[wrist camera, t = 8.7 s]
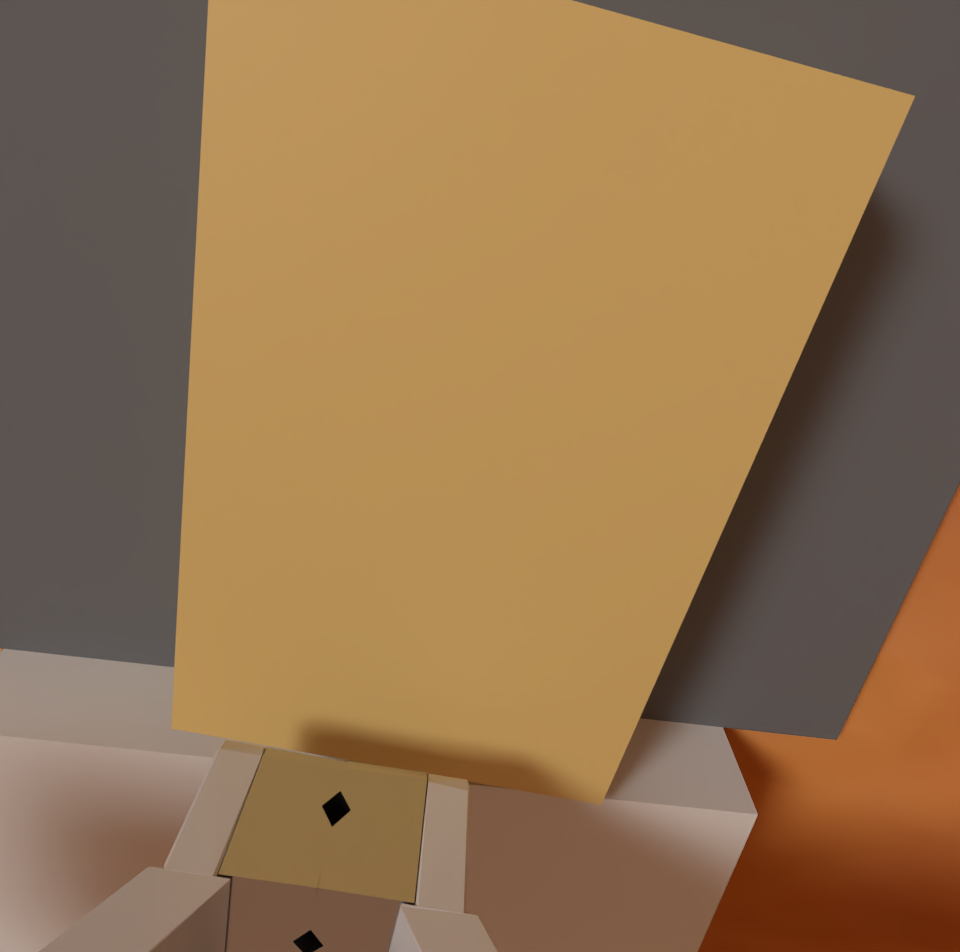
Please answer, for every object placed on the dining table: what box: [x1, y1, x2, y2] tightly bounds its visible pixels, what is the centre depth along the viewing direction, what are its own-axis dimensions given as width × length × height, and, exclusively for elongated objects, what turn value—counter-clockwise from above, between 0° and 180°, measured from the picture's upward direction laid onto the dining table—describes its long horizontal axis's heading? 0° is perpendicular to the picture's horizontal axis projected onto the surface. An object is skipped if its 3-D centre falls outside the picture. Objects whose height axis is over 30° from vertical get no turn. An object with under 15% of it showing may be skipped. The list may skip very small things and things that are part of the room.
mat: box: [0, 0, 960, 740], centre depth 8 cm, size 16×18×1 cm
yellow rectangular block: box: [171, 0, 915, 805], centre depth 8 cm, size 9×6×2 cm, turn 167°
